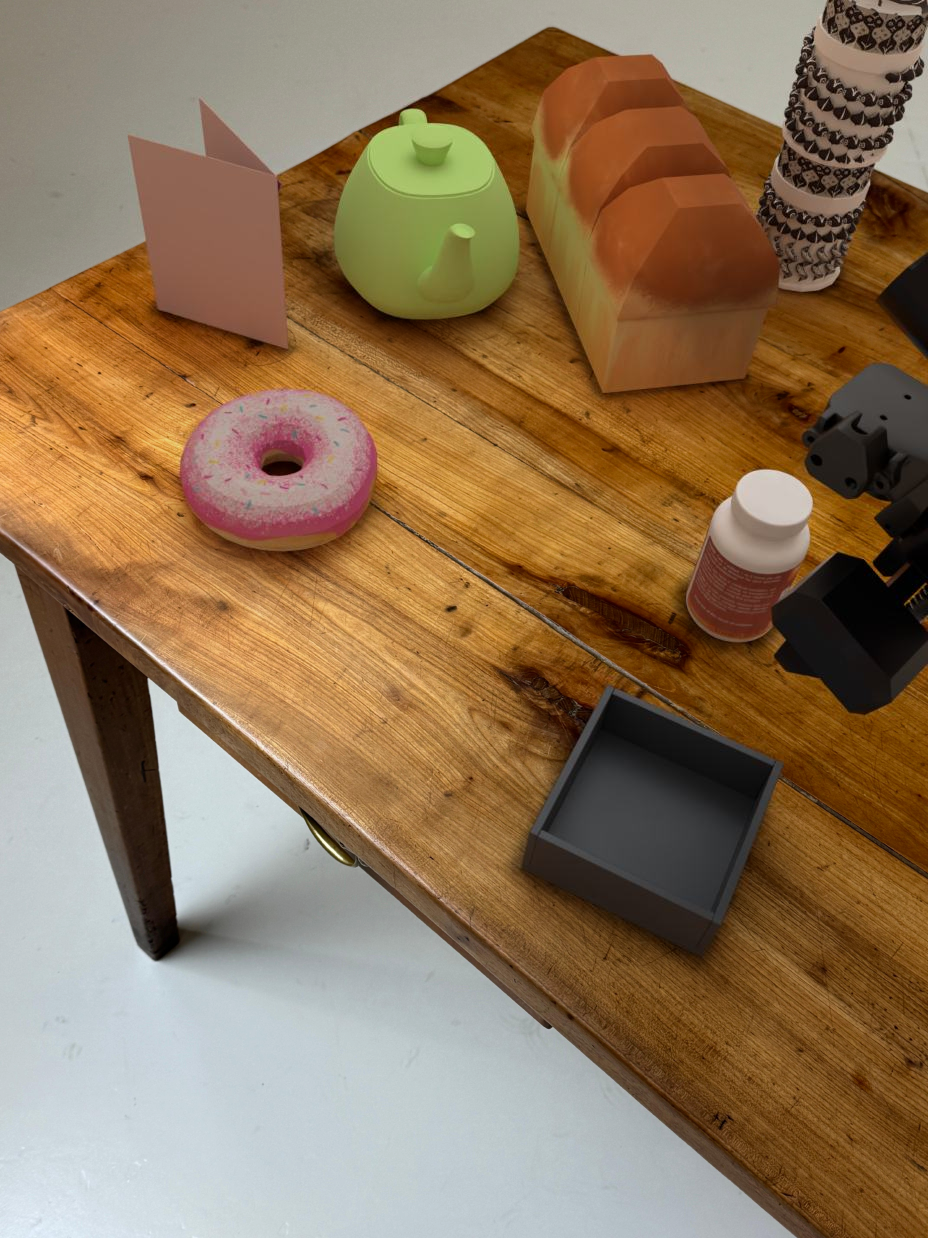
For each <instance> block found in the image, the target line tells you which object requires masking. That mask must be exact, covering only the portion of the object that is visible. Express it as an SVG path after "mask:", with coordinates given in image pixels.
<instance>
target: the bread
mask: <svg viewBox="0 0 928 1238" xmlns="http://www.w3.org/2000/svg"><path fill="white" fill-rule="evenodd" d="M530 132H531V134H532V136H533V139H534V141H533V149H532V158H531V165H530V173H529V182H528V191H527V197H526V204H525V205H526V207H525V212H526V214H527V217H528V219H529V221H530V224H531V226H532V229H533V231H534V233H535V236H536V238H537V241H538V243H539V245H540V247H541V250H542V252H543V254H544V257H545V260H546V262H547V264H548V267H549V269H550V272H551V274H552V275H553V278H554V281H555V284H556V285H557V288H558V290H559V293H560V295H561V298H562V299H563V302H564V305H565V307H566V309H567V312H568V314H569V317H570V319H571V321H572V323H573V325H574V328H575V331H576V333H577V335H578V338H579V340H580V342H581V345H582V347H583V351H584V352H585V354H586V357H587V359H588V361H589V364H590V367H591V369H592V370H593V371H592V372H593V374H594V376H595V378H596V381H597V383H598V386H599V388H600V390H601V392H602V394H608V393H619V392H627V391H628V392H629V391H638V390H646V389H647V390H648V389H655V388H666V387H674V386H675V387H677V386H685V385H693V384H694V385H695V384H704V383H713V382H722V381H724V382H725V381H733V380H743V379H746V376H747V373H748V371H749V367H750V364H751V362H752V359H753V355H754V353H755V350H756V346H757V345H758V342H759V341H758V340H759V337H760V334H761V332H762V328H763V326H764V323H765V320H766V317H767V314H768V311H769V309H771V308H772V307H774V306H777V305H778V298H779V275H780V263H779V260H778V258H777V256H776V254H775V252H774V250H773V248H772V245H771V243H770V241H769V239H768V237H767V235H766V233H765V231H764V229H763V228H762V226H761V224H760V223H759V221H758V220H757V218H756V216H755V213H754V211H753V210H752V208H751V206H750V205H749V203H748V202H747V200H746V198H745V196H744V195H743V193H742V192H741V190H740V188H739V187H738V185H737V183H736V182H735V180H734V179H733V177H732V176H731V174H730V171H729V169H728V167H727V165H726V164H725V162H724V160H723V158H722V157H721V155H720V153H719V152H718V151H717V149H716V147H715V146H714V144H713V142H712V141H711V139H710V137H709V136H708V133H706V130H705V129H704V128H703V125H702V124H701V123H700V121H699V119H698V118H697V116H695V115H694V114H693V113H692V110H691V108H690V107H689V104H688V103H687V101H686V100H685V98H684V96H683V95H682V93H681V91H680V90H679V88H678V87H677V85H676V83H675V81H674V80H673V78H672V76H671V75H670V74H669V72H668V70H667V68H666V67H665V65H664V63H663V62H662V61H660V59H658V58H657V57H656V56H655V55H653V54H652V53H650V54H648V53H647V54H630V55H629V54H628V55H611V56H610V55H609V56H607V55H606V56H594V57H591V58H590V59H587V60H584V61H582V62H579V63H578V64H575V65H572V66H570V67H567V68H566V69H565V70H564V71H563V72H562V73H561V74H560V75H559V76H558V77H557V78H556V79H554V81H553V82H551V83H550V84H549V85H548V86H547V87H546V88H545V89H544V90H543V93H542V95H541V98H540V101H539V104H538V107H537V110H536V113H535V115H534V119H533V121H532V124H531V126H530Z"/></svg>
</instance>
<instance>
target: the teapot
mask: <svg viewBox="0 0 928 1238" xmlns="http://www.w3.org/2000/svg"><path fill="white" fill-rule="evenodd" d="M338 202H339V203H338V207H337V211H336V215H335V221H334V222H335V223H334V229H333V249H334V254H335V257H336V261H337V263H338V266H339V268H340V271H341V272H342V274H343V275H344V277H345V279H346V280H347V281H348V283H349V284H350V285H351V286H352V287H353V289H354V290H355V291H356V292H357V293H358V294H359V295H360V296H361V298H362V299H364V300H365V301H366V302H367V303H369V304H370V306H372V307H374V308H375V309H376V310H378V311H380V312H382V313H384V314H387V315H389V316H392V317H396V318H401V319H409V320H440V319H449V318H456V317H462V316H467V315H471V314H474V313H477V312H480V311H482V310H484V309H485V308H487V307H488V306H490V305H491V304H493V303H494V302H495V301H496V300H498V299H499V298H500V297H501V296H502V295H503V294H504V293H505V292H507V290H508V289H509V288H510V286H511V285H512V283H513V281H514V279H515V277H516V274H517V272H518V267H519V263H520V261H519V260H520V249H521V243H520V231H519V230H520V229H519V223H518V222H519V221H518V216H517V211H516V208H515V203H514V201H513V197H512V195H511V192H510V189H509V186H508V184H507V182H506V180H505V178H504V176H503V173H502V171H501V169H500V167H499V164H498V163H497V161H496V159H495V157H494V156H493V154H492V153H491V150H490V149H489V148H488V146H487V145H486V144H485V142H484V141H482V139H481V138H479V136H477V135H476V134H475V133H473V132H472V131H471V130H468V129H466V128H464V127H461V126H459V125H455V124H450V123H437V122H436V123H434V122H428V119H427V115H426V113H425V112H424V111H423V110H421V109H418V108H408V109H404V110H403V111H401V112H400V114H399V117H398V125H395V126H392V127H388V128H386V129H383V130H381V131H379V132H378V133H377V134H375V135H374V136H372V138H371V140H370V141H369V142H368V143H367V145H366V146H365V148H364V150H363V151H362V153H361V154H360V157H359V158H358V160H357V162H356V163H355V165H354V166H353V168H352V170H351V172H350V174H349V176H348V178H347V180H346V182H345V184H344V187H343V190H342V192H341V196H340V198H339V201H338Z"/></svg>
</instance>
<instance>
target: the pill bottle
mask: <svg viewBox="0 0 928 1238" xmlns="http://www.w3.org/2000/svg"><path fill="white" fill-rule="evenodd" d="M813 507H814V501H813V496H812V495H811V492H810V490H809V489H808V487H806V485H804V484H803V482H802V481H800V480H799V479H798V478H796V477H794V476H793V475H791V474H789V473H786V472H784V471H780V470H775V469H756V470H754V471H750V472H748V473H746V474H745V475H743V476H742V477H741V478H740V479H739V481H738V482H737V484H736V486H735V489H734V491H733V493H732V495H731V496H729V497H728V498H726V499H725V500H723V501H722V502H721V503H720V504H719V505H718V506H717V508H716V509H715V511H714V512H713V515H712V518H711V519H710V522H709V526H708V528H707V531H706V534H705V537H704V540H703V543H702V545H701V548H700V551H699V554H698V557H697V560H696V563H695V566H694V569H693V571H692V574H691V577H690V580H689V584H688V585H687V590H686V595H685V601H686V602H685V603H686V607H687V611H688V613H689V615H690V617H691V619H692V621H693V622H694V623H696V625H697V626H698V627H699V629H701V630H702V631H704V632H705V633H707V634H708V635H710V636H711V637H714V638H716V639H718V640H721V641H724V642H730V643H747V642H751V641H755V640H757V639H759V638H761V637H763V636H764V635H766V634H767V633H768V632H769V631H770V630H772V628H773V627H774V625H773V624H772V615H771V607H772V606H773V605H774V604H775V603H776V602H777V601H778V600H779V599H781V598H782V597H783V596H784V595H785V594H786V593H787V592H788V591H789V590H790V589H792V587H793V584H794V581H795V579H796V577H797V575H798V573H799V571H800V570H801V569H800V568H801V566H802V564H803V562H804V560H805V558H806V555H807V552H808V550H809V547H810V542H811V533H810V532H811V531H810V528H809V525H808V522H809V520H810V517H811V514H812V512H813Z"/></svg>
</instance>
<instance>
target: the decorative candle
mask: <svg viewBox="0 0 928 1238" xmlns="http://www.w3.org/2000/svg"><path fill="white" fill-rule="evenodd" d="M818 16H819V17H818V19H817V23H816V25H815V26H813V28H812V29H811V32H810V33H807V34H806V35H805V36H804V38H803V40H802V44H803V46H802V47H801V49H800V56H799V58H798V63H797V64H796V66H795V68H794V71H795V74H796V75H797V77H796V79H795V80H794V81H793V83H792V85H791V89H792V90H791V91H790V92H789V96H788V98H789V100H788V102H787V107H785V108H784V111H783V115H784V117H785V119H784V120H783V122H782V127H781V128H782V134H781V135H782V137H783V141H782V145H781V147H780V152H779V154H778V155H777V157H776V158H775V159H774V163H773V166H772V169H771V172H770V173H768V176H767V179H765V180H764V182H763V189H764V191H763V193H762V195H761V196H760V197H759V199H758V204H759V207H758V209H757V210H756V212H755V213H754V215H755V216H756V218H757V220H758V221H759V223H760V224H761V226H762V228H763V229H764V231H765V233H766V235H767V237H768V239H769V241H770V243H771V245H772V248H773V250H774V252H775V254H776V256H777V258H778V260H779V263H780V275H779V287H778V289H782V290H788V291H794V292H799V293H804V292H815V291H821V290H822V289H823V290H824V289H825V288H827V287H829V286H831V285H833V284H834V282H835V281H836V279H837V278H838V277H839V275H840V273H841V267H842V266H843V265H844V261H843V260H842V259H843V258H846V257H847V255H848V252H849V250H850V245H849V243H851V242H853V240H854V237H853V236H852V234H854V233H855V232H856V230H857V226H858V225H859V223H860V219H861V218H860V217H861V216H862V215H863V213H864V209H865V208H866V206H867V201H866V197H867V194H868V191H869V189H870V186H871V176H872V174H873V172H874V169H875V166H876V163H878V162H880V161H881V160H882V158H883V157H884V156H885V155H886V154H887V151H888V149H889V147H888V145H889V144H891V143H892V142H893V140H894V134H895V133H894V128H893V127H892V126H893V125H894V124H896V123H897V122H900V121H902V119H903V117H904V114H905V112H906V106H904V105H905V104H906V102H909V101H910V100H911V99H912V97H913V85H912V83H910V82H912V81H915V79H916V78H919V77H921V76H922V75H923V74H924V68H925V61H924V59H922V58H921V53H922V50H923V48H924V45H925V43H926V39H925V34H926V31H927V29H928V0H826V1H825V5H824V9H823V11H822V12H821V14H820V15H818Z"/></svg>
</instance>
